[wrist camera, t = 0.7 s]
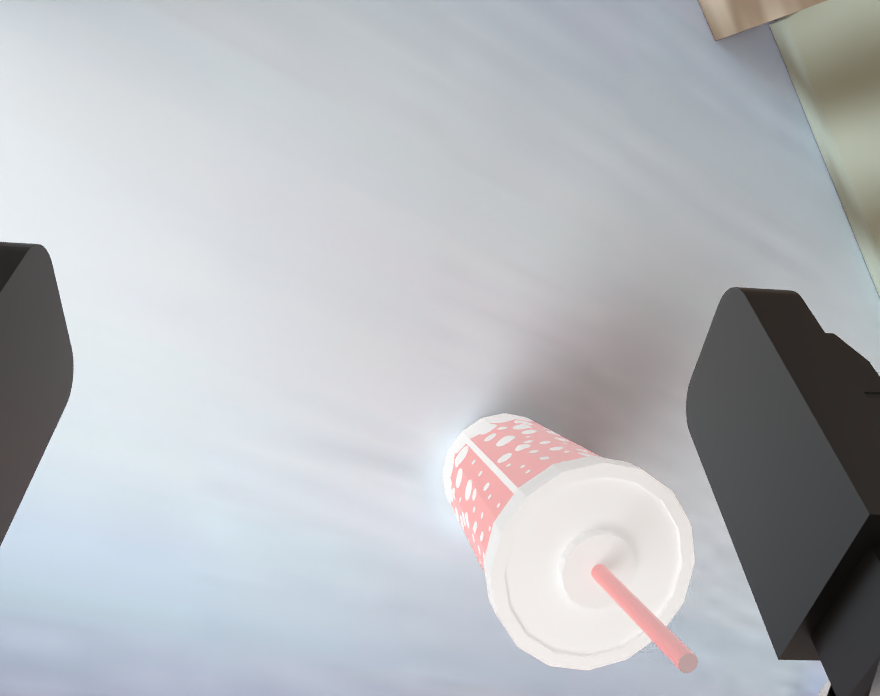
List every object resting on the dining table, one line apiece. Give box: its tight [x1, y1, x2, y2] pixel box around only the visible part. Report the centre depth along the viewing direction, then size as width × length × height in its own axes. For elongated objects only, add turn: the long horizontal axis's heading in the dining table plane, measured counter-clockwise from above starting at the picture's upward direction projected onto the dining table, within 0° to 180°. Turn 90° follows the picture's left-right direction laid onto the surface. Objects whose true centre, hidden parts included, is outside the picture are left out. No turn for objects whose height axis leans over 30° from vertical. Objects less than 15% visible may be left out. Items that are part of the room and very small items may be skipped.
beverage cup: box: [443, 413, 698, 673], centre depth 25 cm, size 6×6×14 cm
